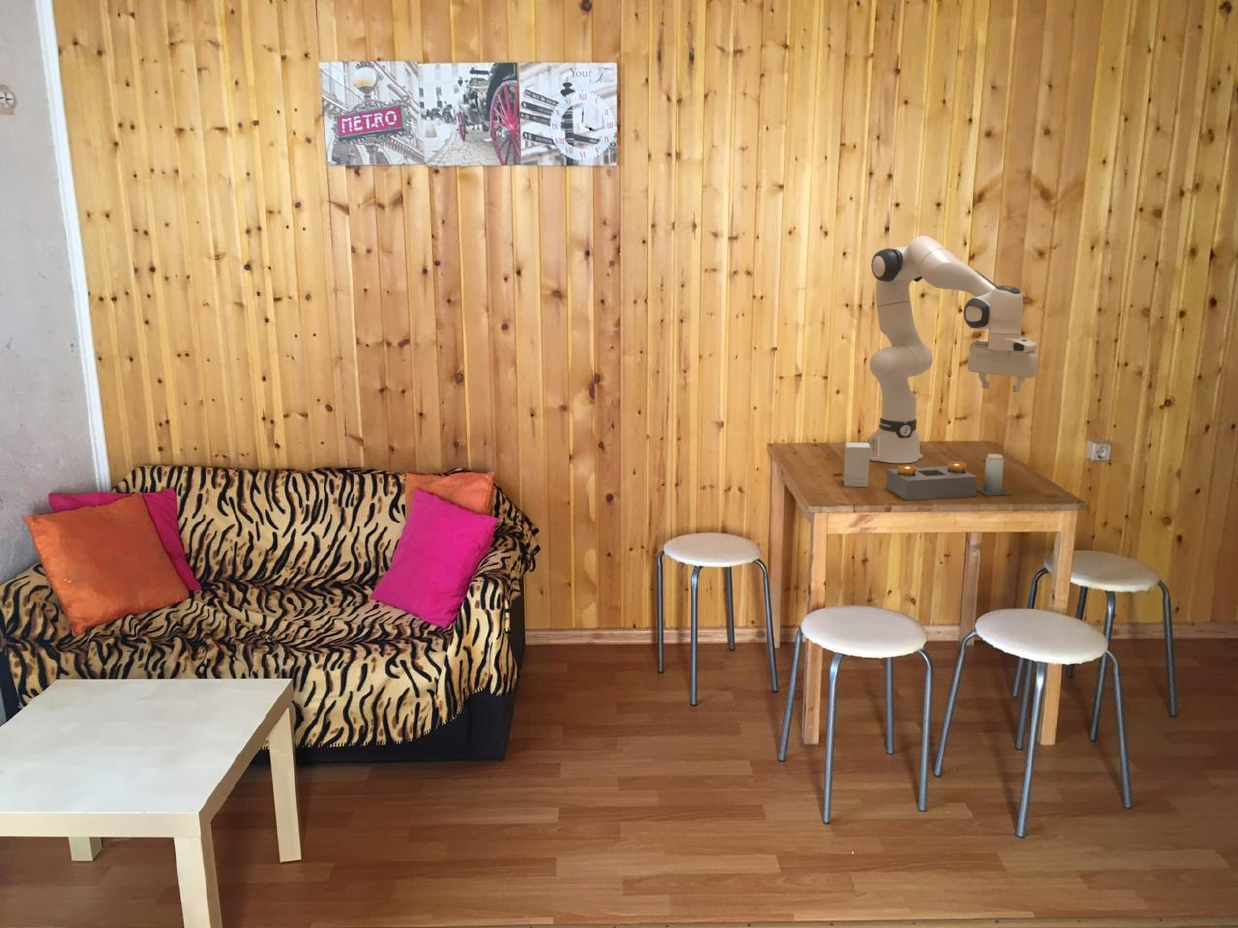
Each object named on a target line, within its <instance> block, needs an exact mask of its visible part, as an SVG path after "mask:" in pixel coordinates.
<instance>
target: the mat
mask: <svg viewBox="0 0 1238 928" xmlns="http://www.w3.org/2000/svg"><path fill="white" fill-rule="evenodd" d="M977 492H978V493H980V494H981V495H984V496H985V497H997V496H999V497H1000V496H1012V495H1013V493H1012V492H1010V491H1008V490H1006V489H1003V488H1002V489H1001V492H1000V493H989V492H985V491H984V487H977V490H976V493H977Z"/></svg>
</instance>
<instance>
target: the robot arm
mask: <svg viewBox="0 0 1238 928" xmlns="http://www.w3.org/2000/svg"><path fill="white" fill-rule="evenodd" d="M871 272H872V275H873V277H874V278H875V279H876V284H875V303H876V310H877V318H878V325H879V326H878V327H879V330H880V332H881V333H882V334H883V335H885V336H886V338H887V339H888V341H889V343H890V345H891V346H889V347H888V346H887V347H883V348H882V349H880V350H878V351H875V352H874V353H873V355H872V356H871V358H870V360H869V368H870V369H869V370H870V372H871V373H872V375H873V376H874V377H875V378H876V379H877V381H878V383H879V386H880V390H881V396H882V399H881V400H882V401H881V404H882V405H881V406H882V407H881V410H882V411H881V417H879V423H878V428H877V430H875V432H874V433H872V435H870V437H869V438H868V439H867V443H869V445H870V458H869V461H872V462H883V463H888V464H889V463H890V464H911V463H915V462H918V461H919V460H921V459H923V458H924V454H922V453H920V450H921V449H920V435H919V433H918V432H917V426H918V425H917V424H918V423H917V422H918V421H917V418H916V416H917V415H916V413H917V396H916V394H915V392H914V391H912V390H911V387H910V381H909V378H911V377H917V376H920V375H922V374H924V373H926V372H927V371H928V370H929V369H931V367H932V364H933V360H934V359H933V358H934V356H933V354H932V352H931V350H930V349H929V347H927V346H926V345H925V344H924V342H923V341H922V339H921V338H920V336H919V333H918V331H917V328H916V325H915V321H914V316H913V308H912V302H911V301H912V300H911V297H910V296H911V295H910V285H911V283H912V282H913V281H914V282H916V283H918V282H920V281H921V280H922V279H923V280H924V281H925V282H926V283H928V284H929V285H931V286H932V287H935V288H937V289H942V290H954V291H960V292H965V293H968V294H971V295H972V296H974V297H972V298H970V299H969V300H968V301H967V302H966V304H965V305H964V307H963V308H964V309H963V319H964V321H965V323H966V325H967V326H968V327H970V328H971V329H973V330H984V329H985V330H986V329H987V330H988V339H987V341H980V340H976V341H973V342H972V343H971V344H970V345H969V355H968V360H967V370H968V371H969V373H977V374H978V378H979V380H980V383H981V389H986V390H987V389H989V388H990V382H989V381H987V379H986V377H987V375H998V376H1005V377H1016V381H1017V383H1016V384H1015V385H1012V392H1013V393H1020V392H1021V387H1022V385H1023V384H1024V383H1025V380H1026V379H1028V378H1029V379H1033V378H1036V377H1037V376H1038V374H1039V369H1040V367H1039V366H1040V365H1039V364H1040V362H1039V355H1038V353H1037V352H1036V350H1037V349H1038V344H1037V343H1036V342H1034V341H1033V340H1029V339H1027V338H1025V337H1024V336H1023V337H1022V330H1021V328H1022V327H1021V325H1022V324H1021V323H1022V321H1023V315H1024V297H1023V292H1022V290H1021V289H1020V288H1018V287H1015V286H1010V285H998V286H997V285H996V284H995V283H994V282H992V281H991V280H989V278H987V277H986V276H984V275H983V274H982V273H980V272H979V271H977V270H976V269H974V268H973V267H970V266H969V265H968V264H966V263H965V262H963V261H962V260H961V259H959V258H958V257H956V255H954V254H953V253H952V252H951V251H950V250H948V249H947V248H946V247H945V246H944V245H943V244H942V243H941V242H938V241H937V240H936V239H934V238H933V237H930V236H928V235H919V236H917V237H916V238H914V239H912V240H911V241H910V242H909V243H908V245H901V246H897V247H892V248H891V247H890V248H883V249H881V250H879V251H877V252H876V253H874V255H873V256H872V259H871Z"/></svg>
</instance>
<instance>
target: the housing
mask: <svg viewBox="0 0 1238 928" xmlns="http://www.w3.org/2000/svg"><path fill="white" fill-rule="evenodd" d="M885 488H886V489H887V490H888V491H890V492H892V493H894V495H896V496H898V497H900V498H902V500H904V501H919V500H922V501H923V500H934V499H935V500H936V499H951V498H952V499H953V498H967V497H976V496H977V491H976V490H977V488H978V476H977V475H974V474H973V473H971V472H968V471H967V470H966V471H963V472H962V473H956V474H953V473H951V471H949V470H948V465H942V466H941V465H940V466H924V467H916V473H915V474H913V475H912V476H904V477H903V476H901V474H899V473H898V468H891V469H890V468H887V470H886V487H885Z"/></svg>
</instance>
